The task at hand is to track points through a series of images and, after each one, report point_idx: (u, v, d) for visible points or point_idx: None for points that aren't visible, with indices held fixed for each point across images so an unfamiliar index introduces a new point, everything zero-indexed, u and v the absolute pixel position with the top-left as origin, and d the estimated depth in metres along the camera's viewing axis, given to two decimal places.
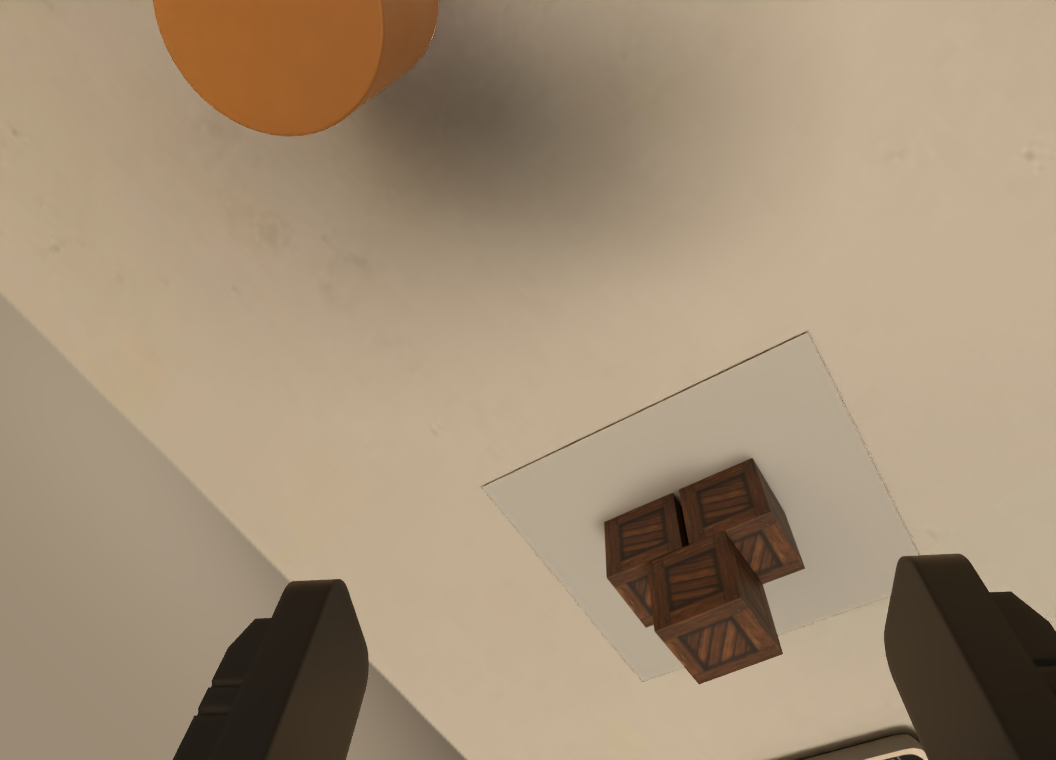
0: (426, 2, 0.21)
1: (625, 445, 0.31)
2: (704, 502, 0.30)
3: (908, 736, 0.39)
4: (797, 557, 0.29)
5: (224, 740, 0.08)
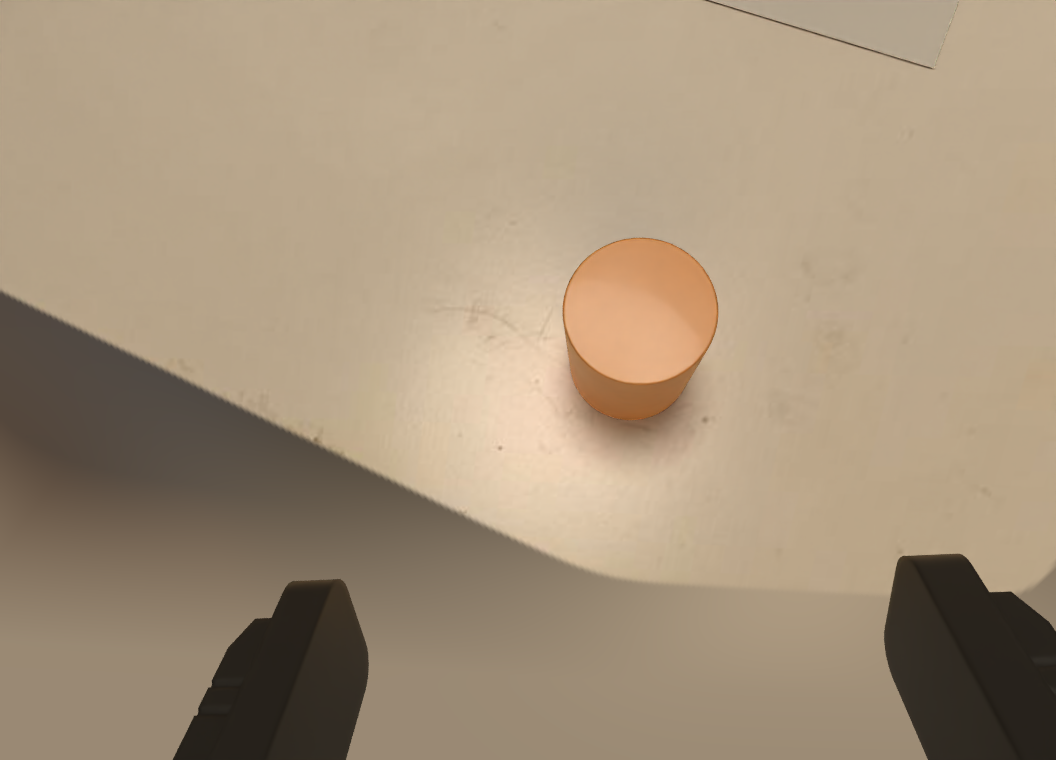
0: None
1: (802, 5, 0.35)
2: None
3: None
4: None
5: (224, 740, 0.08)
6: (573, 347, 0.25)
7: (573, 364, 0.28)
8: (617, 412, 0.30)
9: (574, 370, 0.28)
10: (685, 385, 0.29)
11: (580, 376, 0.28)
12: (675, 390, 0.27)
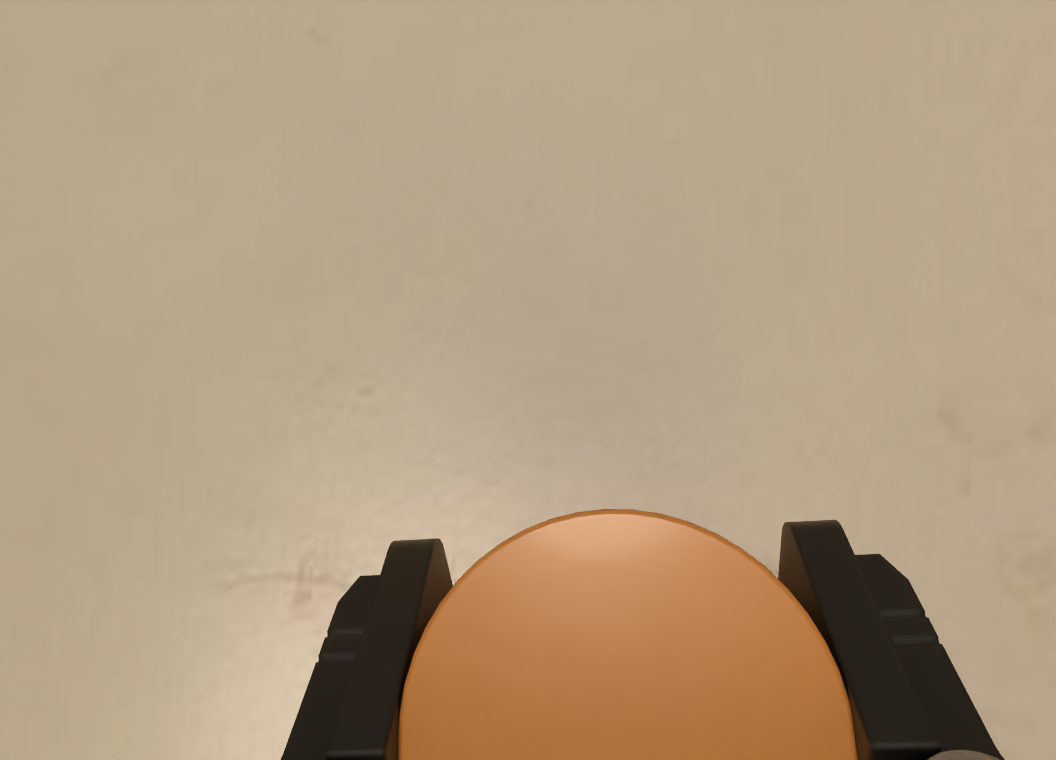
0: None
1: None
2: None
3: None
4: None
5: (356, 680, 0.09)
6: None
7: None
8: None
9: None
10: None
11: None
12: None
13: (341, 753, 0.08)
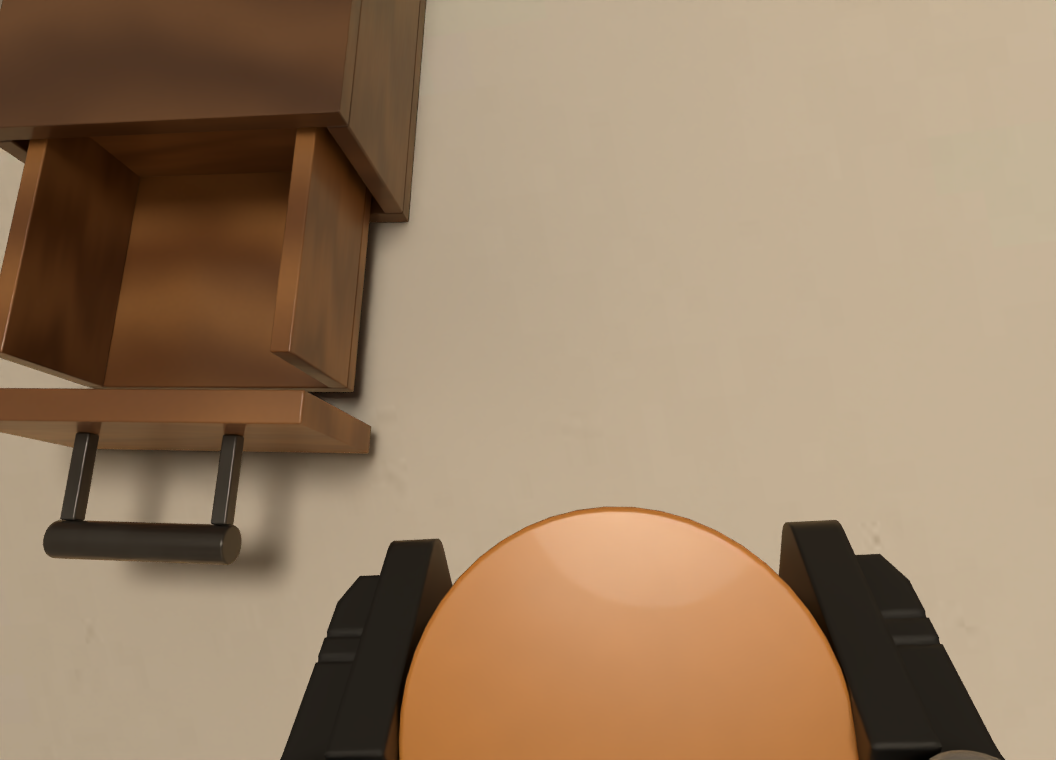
0: None
1: None
2: None
3: None
4: None
5: (355, 681, 0.09)
6: None
7: None
8: None
9: None
10: None
11: None
12: None
13: (340, 753, 0.08)
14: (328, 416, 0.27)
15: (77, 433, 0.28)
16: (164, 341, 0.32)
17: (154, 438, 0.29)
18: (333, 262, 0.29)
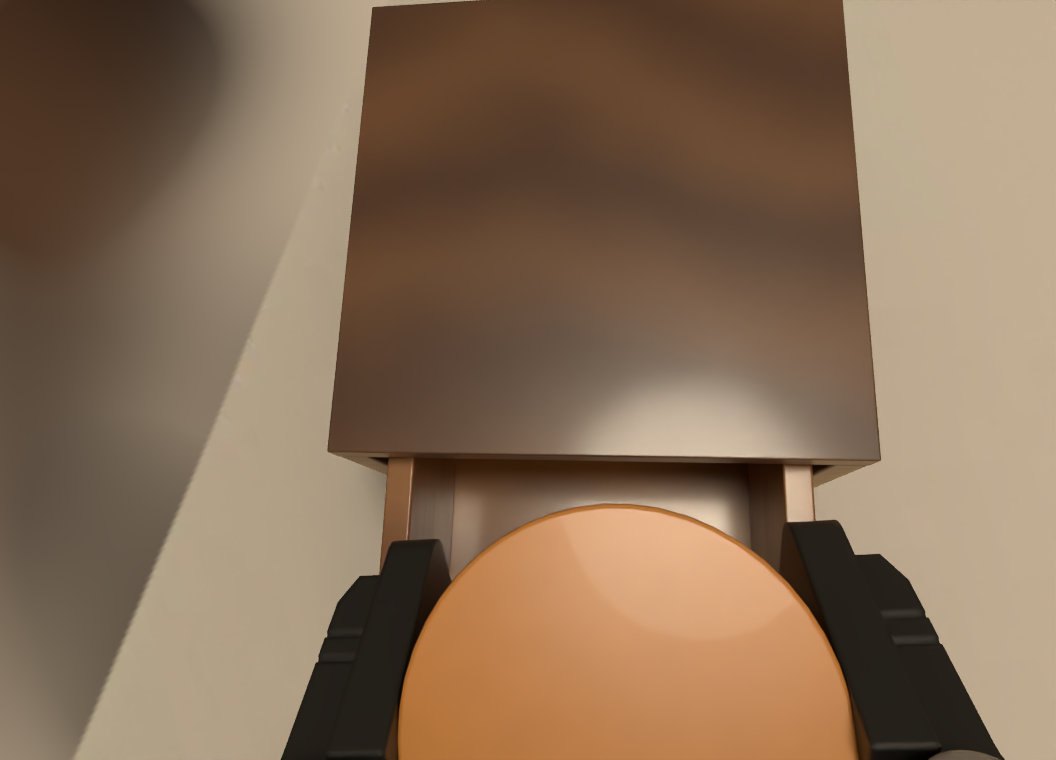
0: None
1: None
2: None
3: None
4: None
5: (355, 680, 0.09)
6: None
7: None
8: None
9: None
10: None
11: None
12: None
13: (341, 753, 0.08)
14: None
15: None
16: None
17: None
18: None
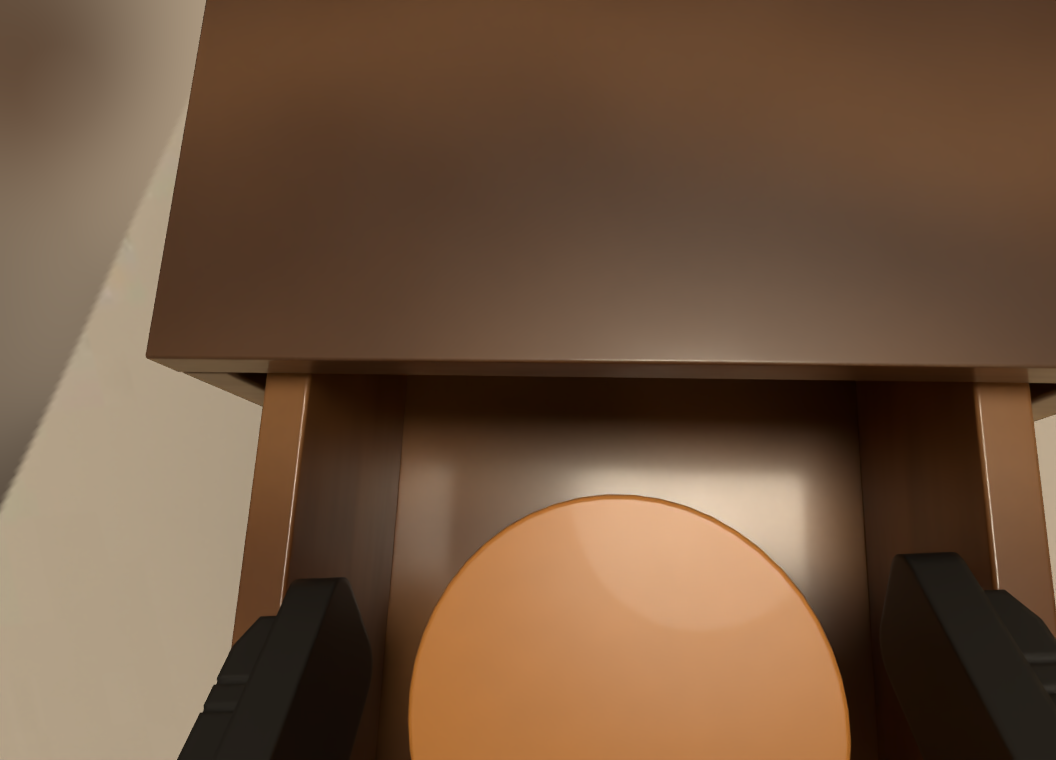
0: None
1: None
2: None
3: None
4: None
5: (230, 737, 0.08)
6: None
7: None
8: None
9: None
10: None
11: None
12: None
13: None
14: None
15: None
16: None
17: None
18: None
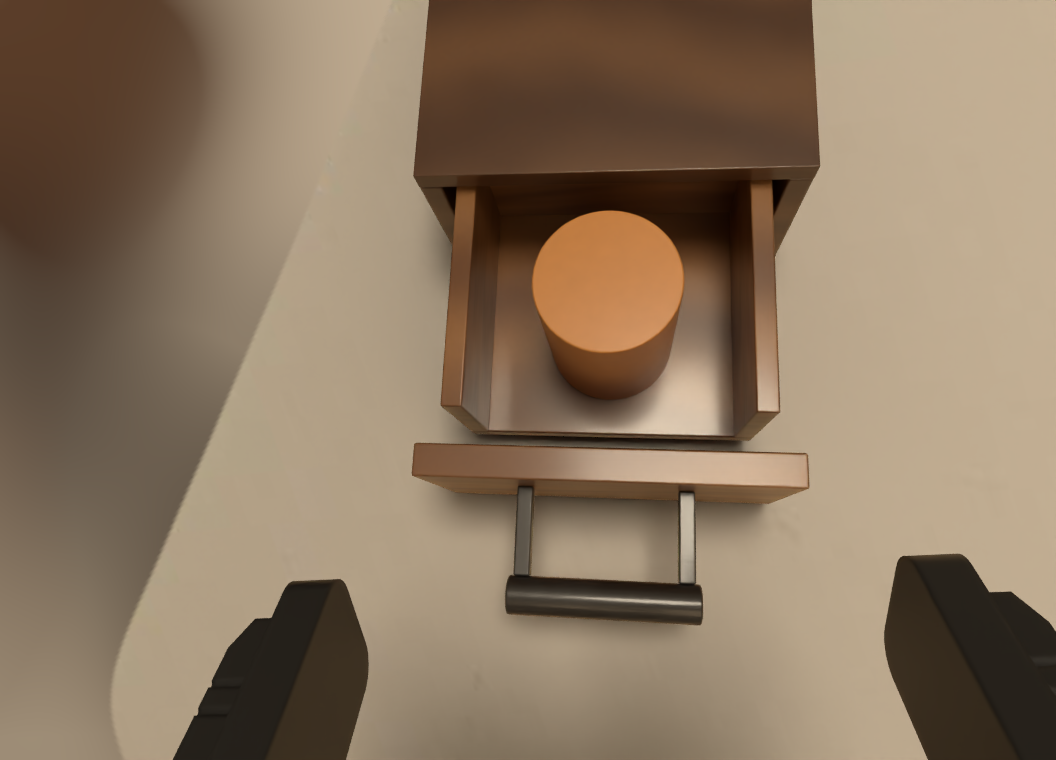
0: None
1: None
2: None
3: None
4: None
5: (224, 740, 0.08)
6: (546, 324, 0.25)
7: (552, 346, 0.28)
8: (603, 391, 0.30)
9: (554, 353, 0.29)
10: (666, 355, 0.29)
11: (560, 357, 0.28)
12: (655, 358, 0.27)
13: None
14: None
15: (519, 486, 0.28)
16: (548, 386, 0.32)
17: (583, 490, 0.29)
18: None
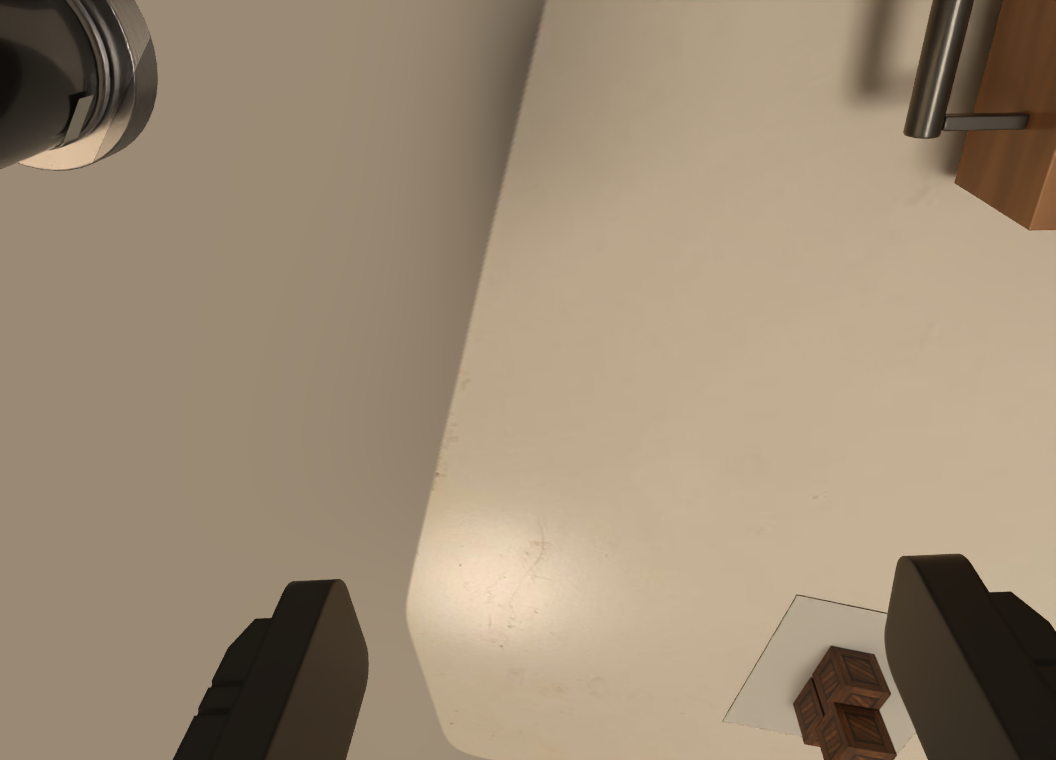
0: None
1: (767, 673, 0.56)
2: (822, 682, 0.54)
3: None
4: (881, 692, 0.51)
5: (224, 740, 0.08)
6: None
7: None
8: None
9: None
10: None
11: None
12: None
13: None
14: None
15: None
16: None
17: (1042, 13, 0.29)
18: None
